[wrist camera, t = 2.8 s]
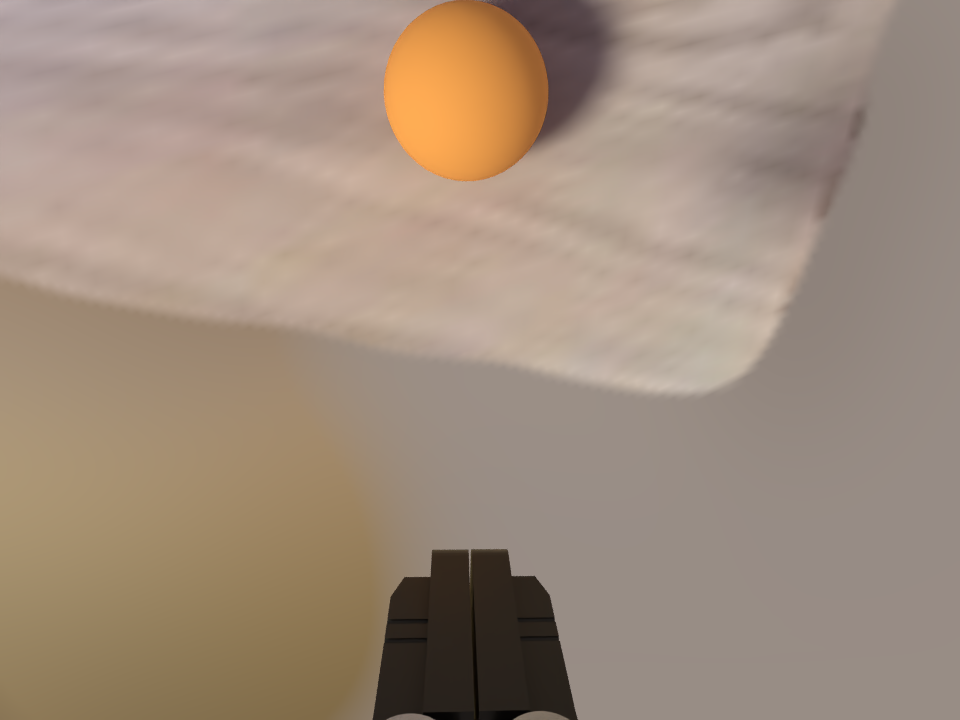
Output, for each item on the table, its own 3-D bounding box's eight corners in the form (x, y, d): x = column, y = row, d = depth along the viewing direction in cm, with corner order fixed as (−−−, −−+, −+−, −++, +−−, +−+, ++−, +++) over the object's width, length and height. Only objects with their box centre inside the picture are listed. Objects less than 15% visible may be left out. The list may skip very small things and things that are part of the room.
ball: (390, 18, 21) (370, -28, 16) (540, 24, 21) (568, -19, 16) (394, 177, 23) (376, 182, 18) (532, 180, 23) (555, 186, 18)
